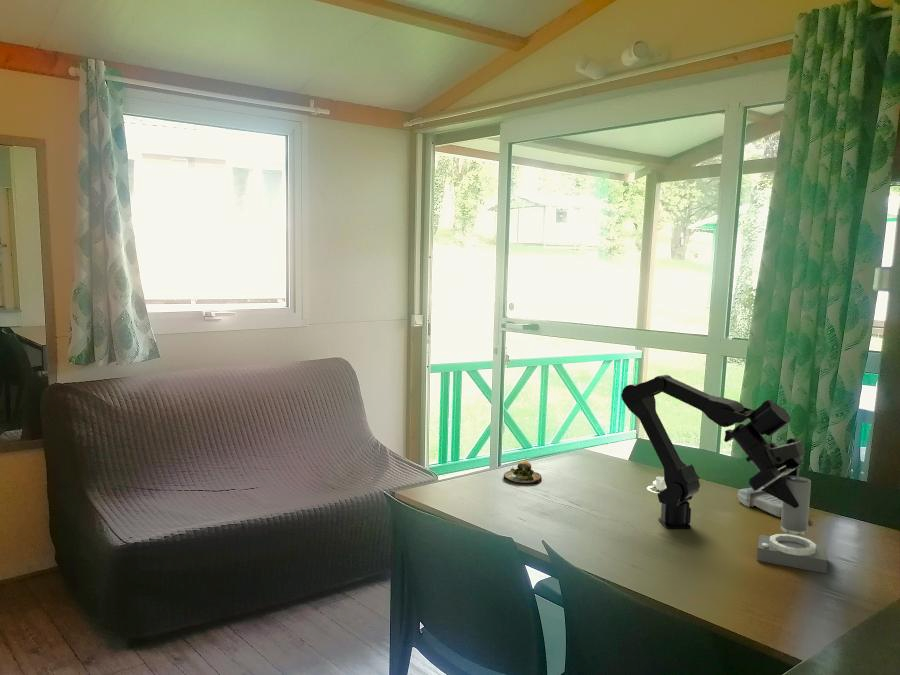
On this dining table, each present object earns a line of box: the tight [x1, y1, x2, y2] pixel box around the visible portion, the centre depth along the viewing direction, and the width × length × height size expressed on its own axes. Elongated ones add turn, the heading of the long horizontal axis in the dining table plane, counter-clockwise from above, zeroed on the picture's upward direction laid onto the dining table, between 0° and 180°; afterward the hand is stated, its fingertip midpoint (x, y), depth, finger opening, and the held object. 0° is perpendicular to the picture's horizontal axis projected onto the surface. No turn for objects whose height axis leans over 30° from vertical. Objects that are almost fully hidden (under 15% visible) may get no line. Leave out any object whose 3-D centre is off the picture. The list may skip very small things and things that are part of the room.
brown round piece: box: [503, 455, 543, 485], centre depth 214 cm, size 12×12×8 cm
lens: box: [780, 476, 812, 536], centre depth 156 cm, size 6×6×12 cm
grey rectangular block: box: [756, 533, 828, 575], centre depth 157 cm, size 14×9×4 cm
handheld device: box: [737, 486, 810, 520], centre depth 189 cm, size 10×20×5 cm, turn 25°
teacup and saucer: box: [646, 476, 666, 494], centre depth 206 cm, size 9×8×4 cm
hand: (802, 504), depth 155 cm, fingers closed on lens, 5 cm apart
